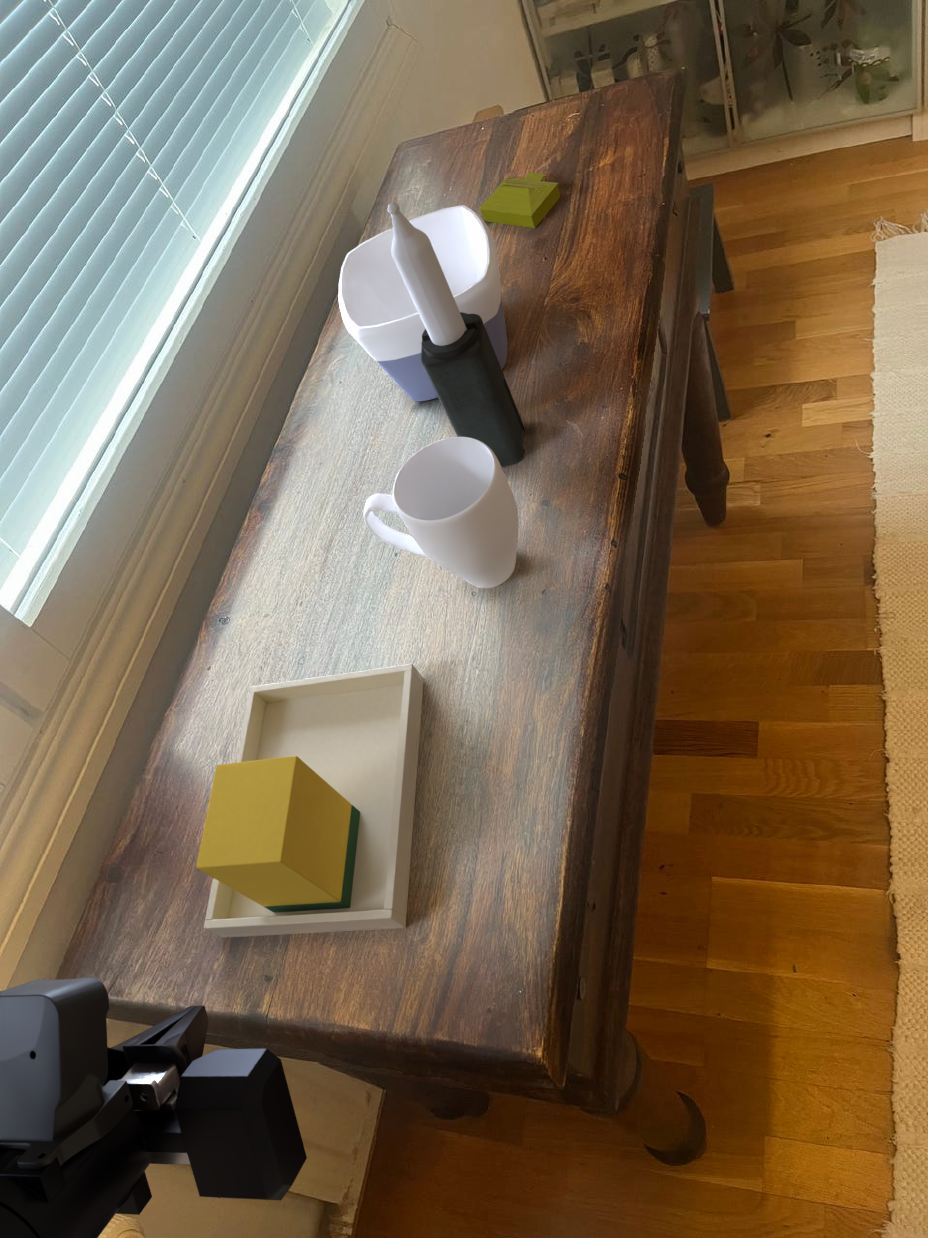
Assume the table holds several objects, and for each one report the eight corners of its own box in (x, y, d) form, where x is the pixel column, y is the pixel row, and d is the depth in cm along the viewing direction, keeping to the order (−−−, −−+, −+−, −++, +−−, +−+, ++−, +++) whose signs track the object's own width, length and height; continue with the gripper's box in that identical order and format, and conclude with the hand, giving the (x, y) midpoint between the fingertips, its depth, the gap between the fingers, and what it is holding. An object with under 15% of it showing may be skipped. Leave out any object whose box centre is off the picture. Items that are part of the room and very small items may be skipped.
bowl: (541, 378, 87) (507, 281, 78) (390, 435, 89) (340, 347, 81) (511, 283, 96) (478, 187, 87) (375, 337, 99) (329, 249, 90)
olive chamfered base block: (466, 228, 104) (458, 206, 102) (511, 176, 107) (503, 153, 104) (538, 239, 98) (531, 215, 96) (583, 183, 101) (577, 159, 99)
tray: (405, 928, 62) (391, 918, 60) (222, 938, 66) (202, 928, 64) (424, 678, 73) (412, 663, 71) (264, 700, 77) (249, 686, 75)
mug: (543, 522, 77) (503, 427, 68) (534, 605, 73) (490, 516, 64) (411, 536, 81) (357, 448, 72) (395, 616, 77) (336, 533, 68)
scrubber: (350, 908, 64) (280, 861, 56) (273, 913, 66) (195, 868, 58) (360, 811, 68) (296, 755, 60) (287, 818, 69) (216, 764, 62)
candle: (526, 461, 82) (424, 214, 62) (471, 473, 83) (354, 235, 63) (524, 420, 84) (427, 170, 65) (471, 432, 86) (360, 192, 66)
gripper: (139, 1076, 33) (319, 867, 47) (-245, 1076, 38) (24, 889, 53) (217, 1341, 34) (367, 1061, 49) (-160, 1305, 40) (77, 1063, 55)
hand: (200, 1013), depth 51 cm, fingers closed
